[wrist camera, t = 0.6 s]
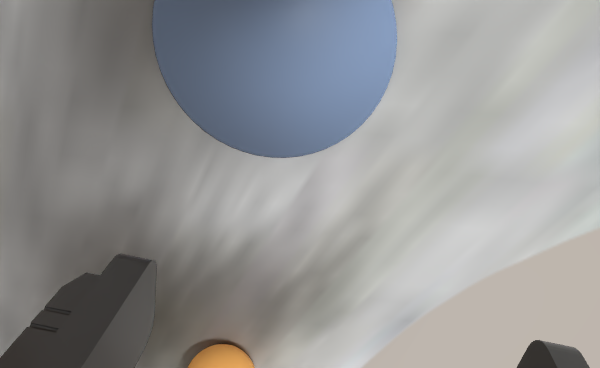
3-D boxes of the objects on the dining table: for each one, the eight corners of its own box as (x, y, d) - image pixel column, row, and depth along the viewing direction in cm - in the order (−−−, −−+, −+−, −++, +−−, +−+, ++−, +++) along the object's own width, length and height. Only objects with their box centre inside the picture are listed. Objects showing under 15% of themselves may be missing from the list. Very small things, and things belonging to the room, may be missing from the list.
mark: (154, -121, 21) (153, -121, 21) (430, -65, 21) (431, -65, 21) (152, 132, 28) (151, 133, 28) (362, 175, 28) (362, 176, 28)
